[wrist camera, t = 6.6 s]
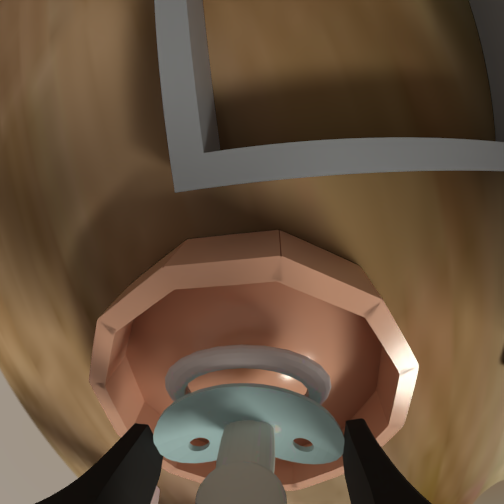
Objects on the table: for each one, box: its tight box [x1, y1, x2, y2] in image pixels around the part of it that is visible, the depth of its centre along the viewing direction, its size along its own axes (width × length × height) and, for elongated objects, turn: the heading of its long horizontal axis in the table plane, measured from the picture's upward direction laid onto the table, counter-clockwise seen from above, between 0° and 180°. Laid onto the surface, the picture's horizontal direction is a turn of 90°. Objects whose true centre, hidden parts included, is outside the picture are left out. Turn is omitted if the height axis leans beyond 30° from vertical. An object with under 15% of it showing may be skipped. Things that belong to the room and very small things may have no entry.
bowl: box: [89, 230, 419, 491], centre depth 13 cm, size 14×14×3 cm
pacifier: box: [153, 344, 345, 504], centre depth 9 cm, size 7×6×6 cm
